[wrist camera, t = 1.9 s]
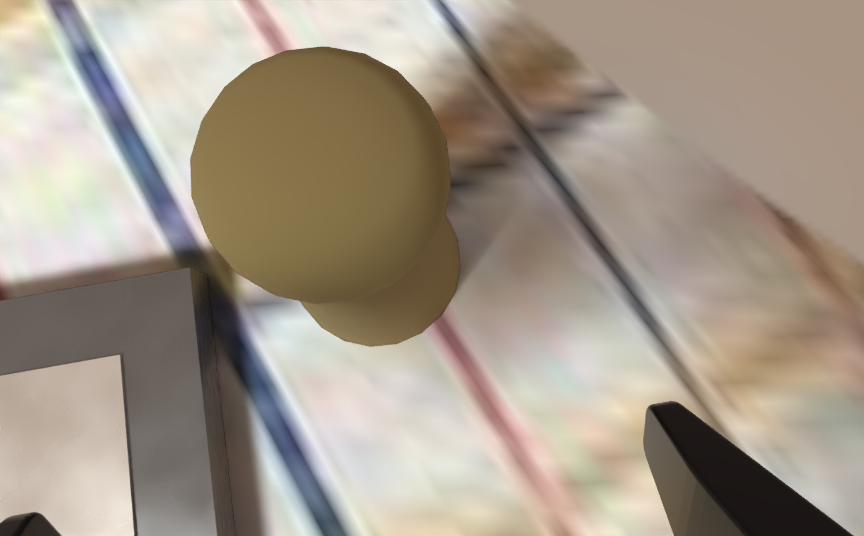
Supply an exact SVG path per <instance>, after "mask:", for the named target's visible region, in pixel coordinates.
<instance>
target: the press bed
mask: <svg viewBox="0 0 864 536" xmlns="http://www.w3.org/2000/svg"><path fill="white" fill-rule="evenodd" d="M31 512H38V513H41V514H42V515H43V516H44V517H45V518H46V519H47V520H48V521H49V522H50V523H51V524H52V525H53V527H54V528H55V529H56V530H57V531H58V532H59V533H60V534H61V536H235V528H234V519H233V509H232V500H231V491H230V482H229V472H228V463H227V454H226V445H225V436H224V426H223V417H222V408H221V399H220V389H219V380H218V371H217V362H216V352H215V343H214V334H213V325H212V315H211V306H210V297H209V288H208V278H207V275H206V274H204V273H201V272H199V271H197V270H194V269H192V268H190V267H189V268H183V269H178V270H172V271H166V272H161V273H155V274H149V275H144V276H138V277H132V278H127V279H121V280H115V281H110V282H104V283H98V284H93V285H87V286H81V287H76V288H70V289H64V290H58V291H53V292H47V293H41V294H36V295H30V296H24V297H19V298H13V299H7V300H2V301H0V523H1V522H2V521H3V520H5V519H6V518H8V517H11V516H14V515H19V514H25V513H31Z"/></svg>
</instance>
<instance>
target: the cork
mask: <svg viewBox="0 0 864 536" xmlns="http://www.w3.org/2000/svg"><path fill="white" fill-rule="evenodd" d="M190 162H191V193H192V199H193V202H194V204H195V207H196V210H197V212H198V215H199V217H200V220H201V223H202V225H203V228H204V230H205V233H206V235H207V237H208V239H209V241H210V243H211V244H212V245H213V246H214V247H215V248H216V250H217V251H218V252H219V253H220V254H221V256H222V257H223V258H224V259H225V260H226V261H227V263H228V264H229V265H230V266H231V267H232V268H233V270H234V271H235V272H236V273H238V274H239V275H241V276H243V277H244V278H246V279H248V280H249V281H251V282H253V283H255V284H256V285H258V286H260V287H261V288H263V289H265V290H266V291H268V292H270V293H272V294H274V295H277V296H279V297H284V298H289V299H293V300H298V301H300V302H301V303H302V305H303V306H304V308H305V309H306V310H307V311H308V312H309V314H310V315H311V316H312V317H313V318H314V319H315V321H316V322H317V323H318V324H319V325H320V326H321V327H322V328H323V329H325V330H327V331H328V332H330V333H332V334H333V335H335V336H337V337H338V338H340V339H342V340H344V341H347V342H352V343H356V344H361V345H365V346H370V347H371V346H380V345H390V344H398V343H400V342H402V341H404V340H407V339H409V338H411V337H413V336H416V335H418V334H420V333H422V332H423V331H424V330H425V329H427V328H428V327H429V326H430V325H431V324H432V323H433V322H434V321H435V320H437V319H438V318H439V317H440V316H441V315H442V314H443V312H444V310H445V309H446V307H447V305H448V303H449V302H450V300H451V298H452V296H453V295H454V293H455V290H456V286H457V281H458V276H459V271H460V266H461V265H460V256H459V248H458V240H457V238H456V236H455V233H454V231H453V229H452V227H451V225H450V223H449V221H448V218H447V216H446V215H445V210H446V206H447V201H448V197H449V192H450V186H451V175H450V166H449V158H448V149H447V141H446V139H445V137H444V135H443V132H442V130H441V128H440V126H439V124H438V122H437V120H436V118H435V116H434V114H433V111H432V109H431V107H430V106H429V104H428V103H427V102H426V100H425V99H424V98H423V97H422V96H421V94H420V93H419V92H418V91H417V90H416V89H415V88H414V87H413V86H412V85H411V84H410V83H409V82H408V81H407V80H406V79H405V78H404V77H403V76H402V75H401V74H400V73H399V72H398V71H397V70H395V69H393V68H391V67H389V66H387V65H385V64H383V63H381V62H380V61H378V60H376V59H374V58H372V57H370V56H368V55H366V54H364V53H358V52H353V51H347V50H342V49H337V48H331V47H315V48H305V49H296V50H287V51H284V52H281V53H279V54H276V55H274V56H272V57H269V58H267V59H264V60H262V61H260V62H257V63H255V64H252V65H251V66H250V67H249V68H247V69H246V70H245V71H244V72H242V73H241V74H240V75H239V76H238V77H236V78H235V79H234V80H233V81H231V82H230V83H229V84H228V85H226V86H225V87H224V89H223V90H222V92H221V93H220V94H219V96H218V97H217V99H216V100H215V102H214V103H213V105H212V106H211V108H210V109H209V111H208V112H207V114H206V115H205V117H204V118H203V120H202V122H201V125H200V128H199V131H198V135H197V138H196V142H195V145H194V148H193V152H192V155H191V158H190Z"/></svg>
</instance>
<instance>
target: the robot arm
mask: <svg viewBox="0 0 864 536" xmlns="http://www.w3.org/2000/svg"><path fill="white" fill-rule="evenodd" d="M643 445H644V451H645V455H646V458H647V461H648V464H649V466H650V469H651V472H652V475H653V478H654V481H655V483H656V486H657V489H658V492H659V495H660V497H661V500H662V503H663V506H664V509H665V512H666V514H667V517H668V520H669V523H670V526H671V528H672V531H673V534H674V536H853V535H852V534H851V533H849V532H848V531H847V530H845V529H844V528H843V527H841V526H840V525H839V524H837V523H836V522H835V521H834V520H832V519H831V518H830V517H828V516H827V515H826V514H824V513H823V512H822V511H820V510H819V509H818V508H816V507H815V506H814V505H813V504H811V503H810V502H809V501H807V500H806V499H805V498H803V497H802V496H801V495H799V494H798V493H797V492H795V491H794V490H793V489H792V488H790V487H789V486H788V485H786V484H785V483H784V482H782V481H781V480H780V479H778V478H777V477H776V476H774V475H773V474H772V473H771V472H769V471H768V470H767V469H765V468H764V467H763V466H761V465H760V464H759V463H757V462H756V461H755V460H753V459H752V458H751V457H750V456H748V455H747V454H746V453H744V452H743V451H742V450H740V449H739V448H738V447H736V446H735V445H734V444H732V443H731V442H730V441H728V440H727V439H726V438H725V437H723V436H722V435H721V434H719V433H718V432H717V431H715V430H714V429H713V428H711V427H710V426H709V425H707V424H706V423H705V422H704V421H702V420H701V419H700V418H698V417H697V416H696V415H694V414H693V413H692V412H690V411H689V410H688V409H686V408H685V407H684V406H683V405H681V404H680V403H678V402H674V401H669V402H663V403H657V404H652V405H650V406H649V407H648V408H647V411H646V418H645V428H644V437H643ZM0 536H61V534H60V533H59V532H58V531H57V530H56V529H55V528H54V527H53V525H52V524H51V523H50V522H49V521H48V520H47V519H46V518H45V517H44V516H43V515H42V514H41V513H38V512H31V513H25V514H19V515H14V516H11V517H8V518H6V519H5V520H3V521H2V522H1V523H0Z"/></svg>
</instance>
